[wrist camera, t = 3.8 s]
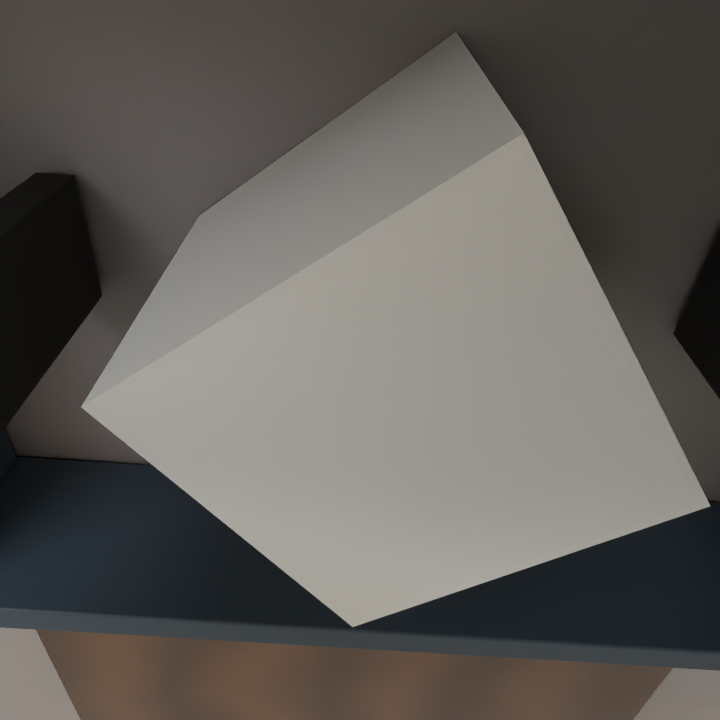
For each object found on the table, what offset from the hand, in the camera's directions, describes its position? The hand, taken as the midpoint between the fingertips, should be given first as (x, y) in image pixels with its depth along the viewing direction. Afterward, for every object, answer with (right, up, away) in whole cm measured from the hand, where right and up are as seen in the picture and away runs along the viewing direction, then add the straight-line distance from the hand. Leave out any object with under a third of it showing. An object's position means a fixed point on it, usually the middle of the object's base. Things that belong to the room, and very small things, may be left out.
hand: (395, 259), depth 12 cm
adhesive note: (0, 0, 0) cm, 0 cm away
